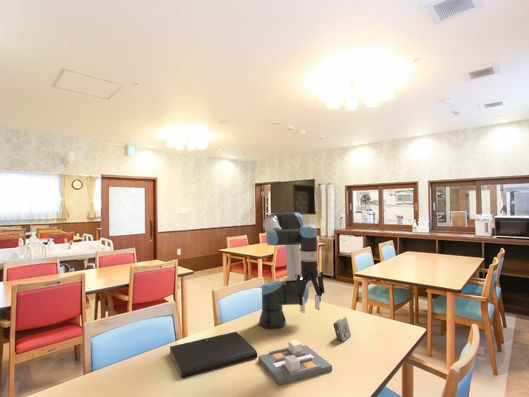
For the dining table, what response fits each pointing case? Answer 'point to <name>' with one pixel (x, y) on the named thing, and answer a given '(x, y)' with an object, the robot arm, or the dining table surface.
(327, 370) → the switch panel
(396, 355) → the dining table surface
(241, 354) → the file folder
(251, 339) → the dining table surface
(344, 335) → the electrical switch
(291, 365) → the outer tab
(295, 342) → the inner tab
